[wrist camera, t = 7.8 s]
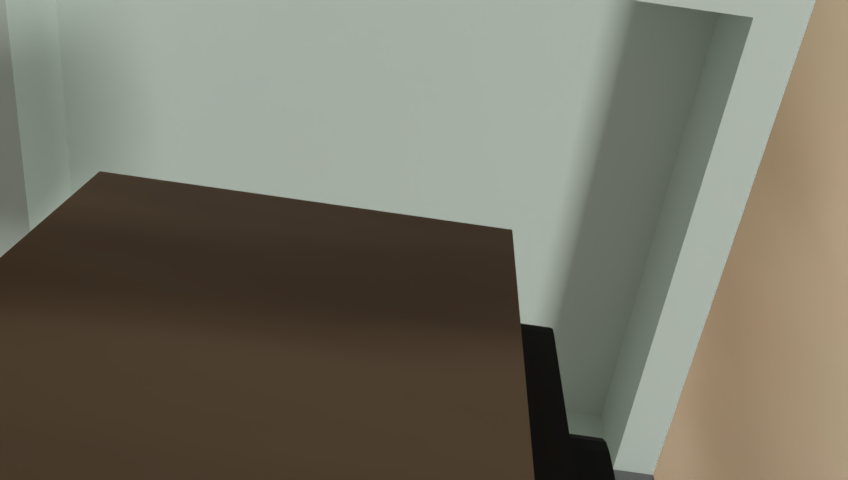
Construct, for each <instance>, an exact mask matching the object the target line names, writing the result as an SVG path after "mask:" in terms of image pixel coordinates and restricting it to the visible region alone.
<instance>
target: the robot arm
mask: <svg viewBox="0 0 848 480" xmlns="http://www.w3.org/2000/svg"><path fill="white" fill-rule="evenodd" d="M521 333H522V345H523V356H524V367H525V378H526V389H527V400H528V411H529V423H530V434H531V445H532V456H533V467H534V478H535V480H615V475H614V471H613V466H612V461H611V457H610V452H609V449H608V446H607V443H606V441H605V440H604V439H603V438H597V437H590V436H583V435H576V434H569V428H568V422H567V415H566V409H565V402H564V396H563V389H562V383H561V376H560V370H559V363H558V357H557V350H556V344H555V337H554V332H553V329H552V328H550V327H543V326H536V325H529V324H522V323H521Z"/></svg>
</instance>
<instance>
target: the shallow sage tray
mask: <svg viewBox="0 0 848 480" xmlns="http://www.w3.org/2000/svg"><path fill="white" fill-rule="evenodd" d="M815 1H816V0H0V257H1V256H3V255H4V254H5V253H6V252H7V251H8V250H9V249H11V248H12V247H13V246H14V245H15V244H16V243H18V242H19V241H20V240H21V239H22V238H23V237H24V236H26V235H27V234H28V233H29V232H30V231H31V230H32V229H34V228H35V227H36V226H37V225H38V224H39V223H41V222H42V221H43V220H44V219H45V218H46V217H47V216H49V215H50V214H51V213H52V212H53V211H54V210H56V209H57V208H58V207H59V206H60V205H61V204H62V203H64V202H65V201H66V200H67V199H68V198H69V197H70V196H72V195H73V194H74V193H75V192H76V191H77V190H79V189H80V188H81V187H82V186H83V185H84V184H85V183H87V182H88V181H89V180H90V179H91V178H92V177H94V176H95V175H96V174H97V173H98V172H99V171H102V172H109V173H116V174H123V175H130V176H137V177H144V178H151V179H158V180H165V181H172V182H179V183H186V184H193V185H200V186H207V187H215V188H222V189H229V190H236V191H243V192H250V193H257V194H264V195H271V196H278V197H285V198H292V199H299V200H306V201H313V202H320V203H327V204H334V205H341V206H348V207H355V208H363V209H370V210H377V211H384V212H391V213H398V214H405V215H412V216H419V217H426V218H433V219H440V220H447V221H454V222H461V223H468V224H475V225H482V226H489V227H496V228H504V229H511V230H512V233H513V244H514V255H515V266H516V278H517V289H518V300H519V311H520V322H521V323H522V324H529V325H536V326H543V327H550V328H552V329H553V332H554V337H555V344H556V350H557V357H558V363H559V370H560V376H561V383H562V389H563V396H564V402H565V409H566V415H567V422H568V428H569V434H576V435H583V436H590V437H597V438H603V439H604V440H605V441H606V443H607V446H608V449H609V452H610V457H611V461H612V466H613V471H614V475H615V480H654V477H653V473H654V470H655V467H656V464H657V461H658V459H659V456H660V453H661V450H662V447H663V444H664V441H665V438H666V435H667V432H668V429H669V427H670V424H671V421H672V418H673V415H674V412H675V409H676V406H677V403H678V400H679V397H680V394H681V392H682V389H683V386H684V383H685V380H686V377H687V374H688V371H689V368H690V365H691V362H692V359H693V357H694V354H695V351H696V348H697V345H698V342H699V339H700V336H701V333H702V330H703V327H704V324H705V322H706V319H707V316H708V313H709V310H710V307H711V304H712V301H713V298H714V295H715V292H716V290H717V287H718V284H719V281H720V278H721V275H722V272H723V269H724V266H725V263H726V260H727V257H728V255H729V252H730V249H731V246H732V243H733V240H734V237H735V234H736V231H737V228H738V225H739V222H740V220H741V217H742V214H743V211H744V208H745V205H746V202H747V199H748V196H749V193H750V190H751V187H752V185H753V182H754V179H755V176H756V173H757V170H758V167H759V164H760V161H761V158H762V155H763V153H764V150H765V147H766V144H767V141H768V138H769V135H770V132H771V129H772V126H773V123H774V120H775V118H776V115H777V112H778V109H779V106H780V103H781V100H782V97H783V94H784V91H785V88H786V85H787V83H788V80H789V77H790V74H791V71H792V68H793V65H794V62H795V59H796V56H797V53H798V50H799V48H800V45H801V42H802V39H803V36H804V33H805V30H806V27H807V24H808V21H809V18H810V16H811V13H812V10H813V7H814V4H815Z"/></svg>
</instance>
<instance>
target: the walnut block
mask: <svg viewBox="0 0 848 480" xmlns="http://www.w3.org/2000/svg"><path fill="white" fill-rule="evenodd" d="M0 480H535V478H534V467H533V456H532V445H531V434H530V423H529V411H528V400H527V389H526V378H525V367H524V356H523V345H522V333H521V322H520V311H519V300H518V289H517V278H516V266H515V255H514V244H513V233H512V230H511V229H504V228H496V227H489V226H482V225H475V224H468V223H461V222H454V221H447V220H440V219H433V218H426V217H419V216H412V215H405V214H398V213H391V212H384V211H377V210H370V209H363V208H355V207H348V206H341V205H334V204H327V203H320V202H313V201H306V200H299V199H292V198H285V197H278V196H271V195H264V194H257V193H250V192H243V191H236V190H229V189H222V188H215V187H207V186H200V185H193V184H186V183H179V182H172V181H165V180H158V179H151V178H144V177H137V176H130V175H123V174H116V173H109V172H102V171H99V172H98V173H97V174H96V175H95V176H94V177H92V178H91V179H90V180H89V181H88V182H87V183H85V184H84V185H83V186H82V187H81V188H80V189H79V190H77V191H76V192H75V193H74V194H73V195H72V196H70V197H69V198H68V199H67V200H66V201H65V202H64V203H62V204H61V205H60V206H59V207H58V208H57V209H56V210H54V211H53V212H52V213H51V214H50V215H49V216H47V217H46V218H45V219H44V220H43V221H42V222H41V223H39V224H38V225H37V226H36V227H35V228H34V229H32V230H31V231H30V232H29V233H28V234H27V235H26V236H24V237H23V238H22V239H21V240H20V241H19V242H18V243H16V244H15V245H14V246H13V247H12V248H11V249H9V250H8V251H7V252H6V253H5V254H4V255H3V256H1V257H0Z"/></svg>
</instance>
